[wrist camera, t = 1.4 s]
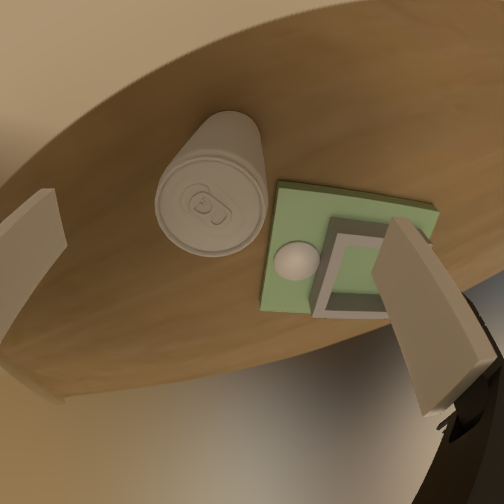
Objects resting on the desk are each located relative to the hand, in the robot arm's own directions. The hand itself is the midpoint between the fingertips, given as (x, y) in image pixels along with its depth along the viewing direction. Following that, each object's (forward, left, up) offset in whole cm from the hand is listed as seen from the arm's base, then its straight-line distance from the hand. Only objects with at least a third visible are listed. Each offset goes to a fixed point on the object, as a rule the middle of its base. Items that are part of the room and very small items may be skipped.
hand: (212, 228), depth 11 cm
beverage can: (0, 0, -14) cm, 14 cm away
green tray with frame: (+11, -10, -13) cm, 20 cm away
